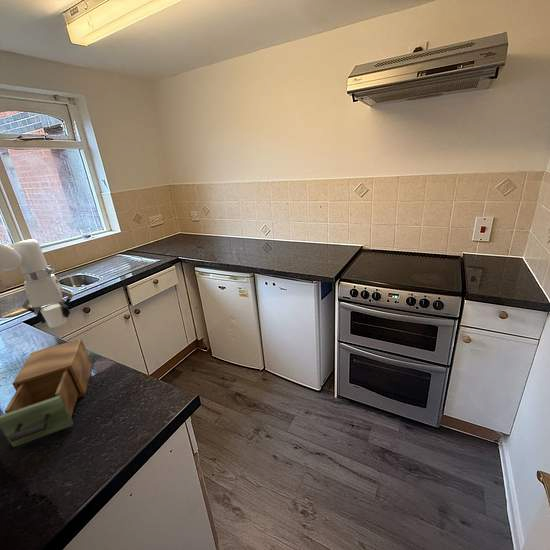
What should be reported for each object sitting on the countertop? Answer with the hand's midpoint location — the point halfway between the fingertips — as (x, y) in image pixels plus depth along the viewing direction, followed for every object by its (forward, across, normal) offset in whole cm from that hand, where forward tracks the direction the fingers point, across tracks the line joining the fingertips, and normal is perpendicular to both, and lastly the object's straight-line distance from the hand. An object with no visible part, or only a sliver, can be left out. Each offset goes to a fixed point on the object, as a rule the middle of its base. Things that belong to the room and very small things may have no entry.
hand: (56, 318), depth 112 cm
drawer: (+10, -6, +47) cm, 48 cm away
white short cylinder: (+2, 0, 0) cm, 2 cm away
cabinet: (+11, -6, +32) cm, 34 cm away
